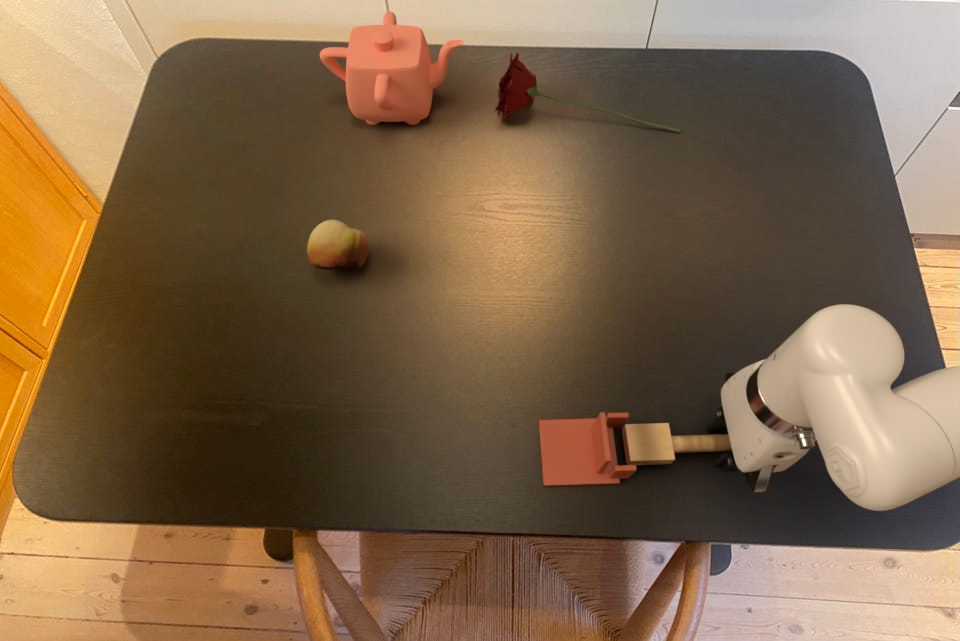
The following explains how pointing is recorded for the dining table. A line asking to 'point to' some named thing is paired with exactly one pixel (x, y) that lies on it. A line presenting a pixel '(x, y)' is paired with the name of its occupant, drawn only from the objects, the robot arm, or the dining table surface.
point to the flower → (534, 93)
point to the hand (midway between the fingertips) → (722, 446)
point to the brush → (666, 443)
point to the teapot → (389, 71)
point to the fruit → (337, 246)
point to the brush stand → (582, 451)
